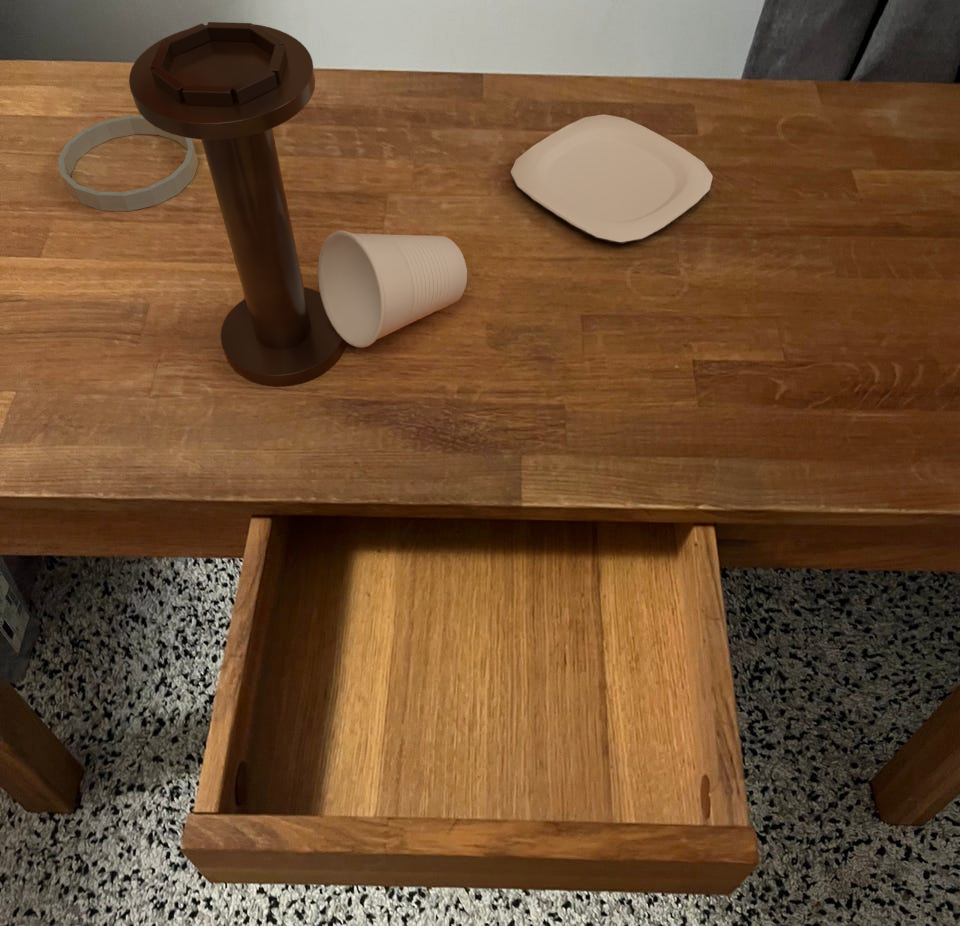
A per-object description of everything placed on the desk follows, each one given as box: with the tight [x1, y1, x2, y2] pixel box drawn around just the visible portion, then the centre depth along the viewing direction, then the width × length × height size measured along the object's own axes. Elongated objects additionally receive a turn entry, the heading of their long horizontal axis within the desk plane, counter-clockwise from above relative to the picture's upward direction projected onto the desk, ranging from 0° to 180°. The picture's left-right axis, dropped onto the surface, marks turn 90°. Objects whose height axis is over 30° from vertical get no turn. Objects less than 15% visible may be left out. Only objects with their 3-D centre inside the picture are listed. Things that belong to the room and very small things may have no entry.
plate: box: [510, 114, 714, 245], centre depth 92 cm, size 18×18×2 cm
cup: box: [317, 230, 468, 349], centre depth 77 cm, size 10×10×11 cm
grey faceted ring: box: [57, 114, 199, 212], centre depth 92 cm, size 14×14×2 cm
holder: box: [128, 21, 347, 387], centre depth 68 cm, size 12×12×27 cm
